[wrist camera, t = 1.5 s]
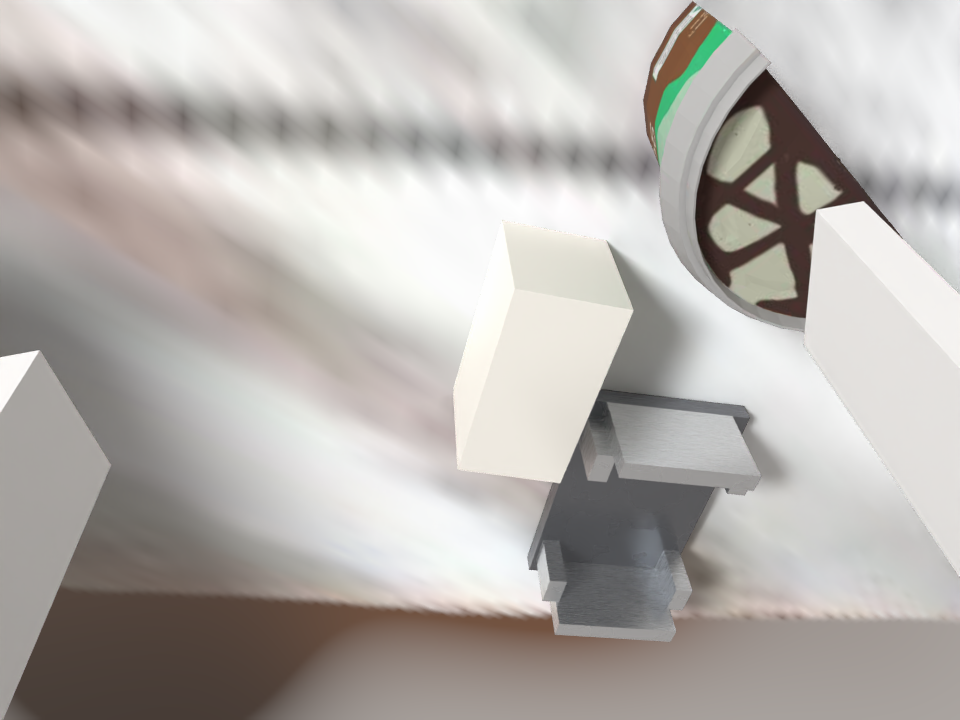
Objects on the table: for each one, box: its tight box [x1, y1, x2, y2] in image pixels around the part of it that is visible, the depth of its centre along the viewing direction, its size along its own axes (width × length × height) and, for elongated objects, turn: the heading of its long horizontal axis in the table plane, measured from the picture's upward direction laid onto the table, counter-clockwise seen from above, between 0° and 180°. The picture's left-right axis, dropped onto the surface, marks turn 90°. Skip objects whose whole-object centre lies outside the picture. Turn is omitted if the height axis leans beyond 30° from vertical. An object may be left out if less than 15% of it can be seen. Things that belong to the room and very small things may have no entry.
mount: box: [528, 390, 761, 642], centre depth 45 cm, size 14×9×6 cm, turn 169°
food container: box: [643, 1, 903, 332], centre depth 30 cm, size 12×6×10 cm, turn 46°
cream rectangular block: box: [453, 220, 634, 483], centre depth 37 cm, size 10×5×6 cm, turn 166°
